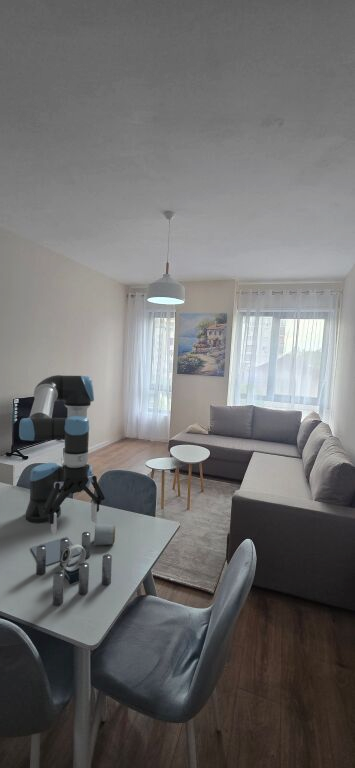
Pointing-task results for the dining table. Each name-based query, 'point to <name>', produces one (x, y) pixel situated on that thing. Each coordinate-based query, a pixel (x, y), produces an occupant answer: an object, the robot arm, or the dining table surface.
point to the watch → (72, 570)
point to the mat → (53, 551)
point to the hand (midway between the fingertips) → (74, 526)
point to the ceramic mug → (104, 534)
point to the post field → (83, 569)
